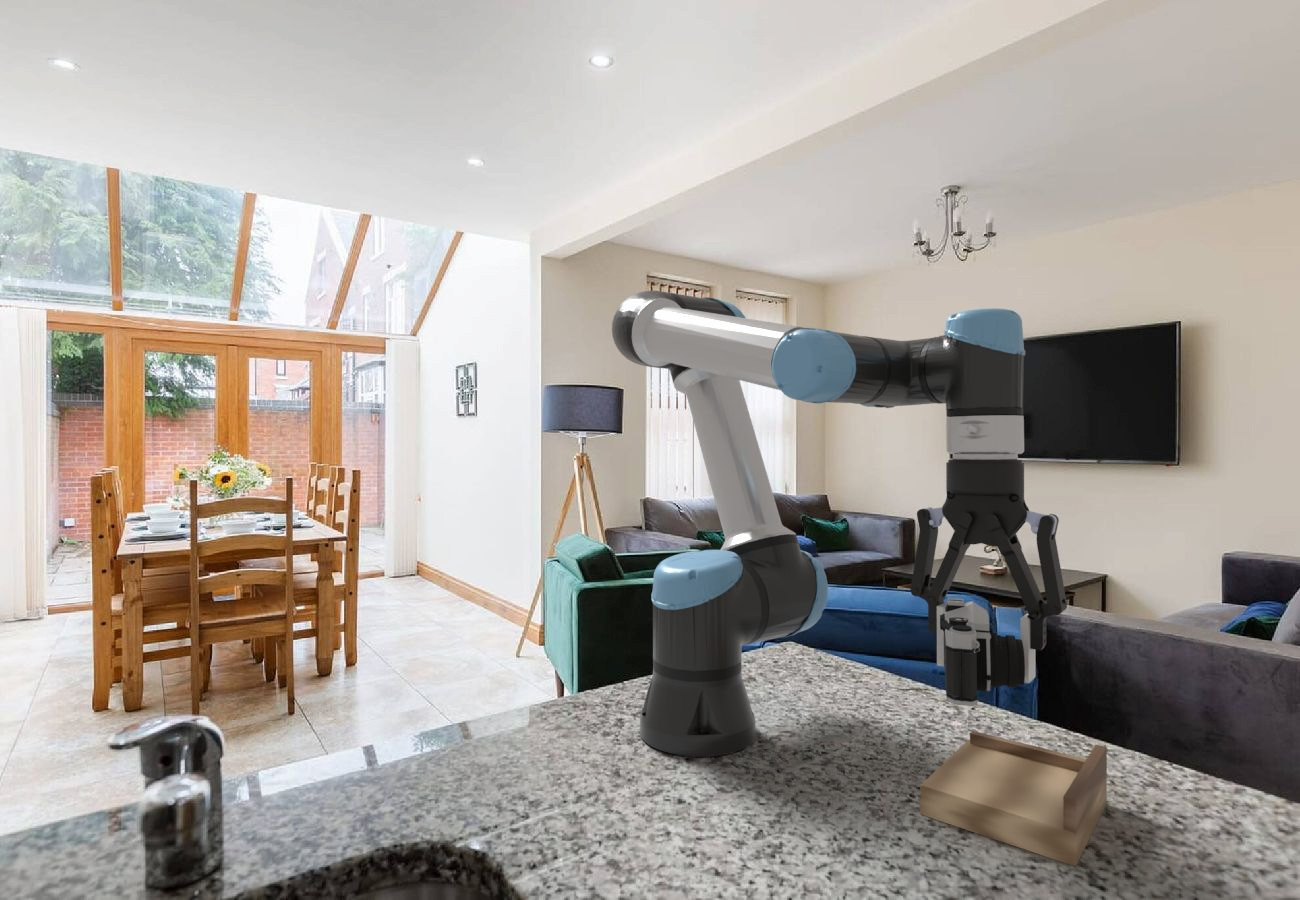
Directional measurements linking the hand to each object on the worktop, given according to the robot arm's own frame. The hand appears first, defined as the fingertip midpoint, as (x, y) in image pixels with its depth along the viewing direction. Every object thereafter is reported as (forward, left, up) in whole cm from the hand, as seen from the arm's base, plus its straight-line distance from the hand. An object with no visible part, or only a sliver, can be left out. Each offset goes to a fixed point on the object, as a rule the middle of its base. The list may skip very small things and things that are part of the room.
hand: (984, 670), depth 77 cm
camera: (+1, -5, 0) cm, 5 cm away
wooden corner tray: (+3, 0, -14) cm, 14 cm away
